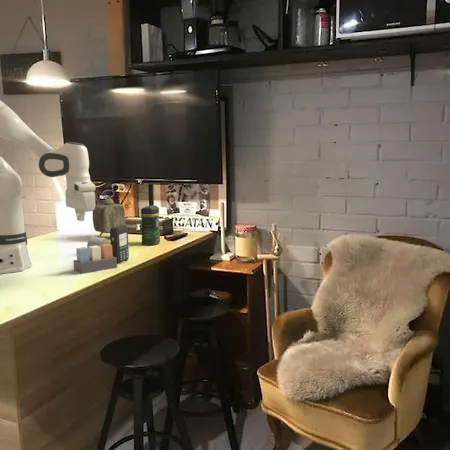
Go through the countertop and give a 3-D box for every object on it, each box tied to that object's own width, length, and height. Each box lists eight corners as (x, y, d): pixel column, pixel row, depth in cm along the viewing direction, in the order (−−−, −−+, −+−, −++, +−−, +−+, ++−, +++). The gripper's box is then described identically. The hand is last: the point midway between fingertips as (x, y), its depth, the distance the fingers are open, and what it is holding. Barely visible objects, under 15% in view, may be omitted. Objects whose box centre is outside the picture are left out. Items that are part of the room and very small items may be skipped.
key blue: (80, 264, 214) (80, 249, 213) (77, 262, 217) (76, 248, 216) (89, 263, 216) (88, 248, 215) (85, 261, 219) (84, 247, 218)
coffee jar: (155, 246, 261) (154, 207, 258) (139, 245, 263) (138, 206, 260) (162, 242, 271) (161, 204, 268) (147, 241, 272) (145, 204, 269)
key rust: (104, 260, 220) (104, 246, 219) (101, 258, 223) (100, 244, 222) (112, 259, 222) (112, 244, 221) (108, 257, 225) (108, 243, 224)
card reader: (118, 264, 226) (117, 228, 224) (110, 264, 228) (108, 228, 225) (130, 259, 235) (128, 224, 232) (121, 259, 236) (120, 224, 234)
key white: (93, 262, 217) (92, 248, 216) (89, 260, 220) (88, 246, 219) (101, 261, 219) (100, 246, 218) (97, 259, 222) (96, 245, 221)
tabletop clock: (118, 235, 289) (116, 187, 285) (128, 237, 283) (125, 189, 278) (93, 239, 280) (90, 190, 275) (103, 242, 273) (100, 191, 269)
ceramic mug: (102, 256, 242) (102, 239, 241) (87, 255, 245) (86, 237, 244) (116, 251, 252) (115, 235, 251) (101, 250, 255) (100, 234, 254)
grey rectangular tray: (81, 273, 213) (81, 263, 212) (74, 270, 219) (73, 260, 218) (117, 267, 222) (116, 257, 221) (108, 264, 228) (108, 254, 227)
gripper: (60, 183, 218) (62, 218, 220) (81, 187, 202) (83, 224, 204) (75, 182, 221) (77, 216, 224) (97, 186, 205) (99, 222, 208)
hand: (80, 220), depth 214 cm, fingers closed
